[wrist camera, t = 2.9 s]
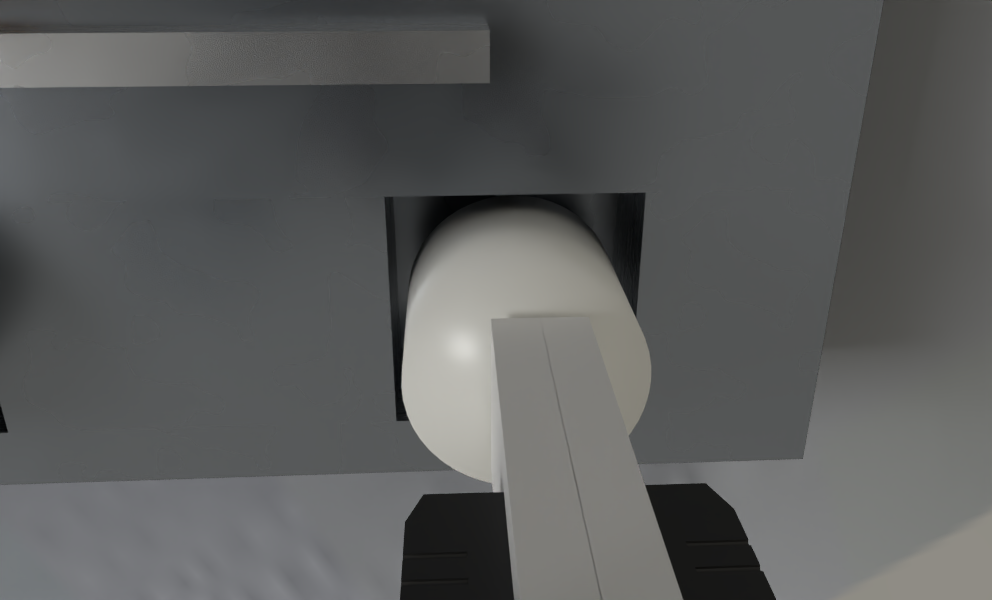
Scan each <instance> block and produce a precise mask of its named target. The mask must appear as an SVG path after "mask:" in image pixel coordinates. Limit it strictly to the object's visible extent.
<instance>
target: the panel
mask: <svg viewBox="0 0 992 600" xmlns="http://www.w3.org/2000/svg"><path fill="white" fill-rule="evenodd" d="M883 1H884V0H0V485H9V484H40V483H71V482H102V481H133V480H164V479H194V478H225V477H256V476H287V475H318V474H349V473H379V472H410V471H441V470H455V469H453V468H451V467H450V466H449V465H447V464H446V463H444V462H443V461H441V460H440V459H439V458H438V457H437V456H435V455H434V454H433V453H432V452H431V451H430V450H429V449H428V448H427V447H426V445H425V444H424V443H423V442H422V441H421V440H420V438H419V437H418V435H417V433H416V432H415V430H414V429H413V427H412V425H411V422H410V420H409V418H408V416H407V413H406V409H405V406H404V402H403V396H402V388H401V385H402V364H403V351H404V339H405V326H406V313H407V300H408V288H409V279H410V274H411V269H412V266H413V263H414V260H415V258H416V255H417V253H418V251H419V249H420V247H421V246H422V244H423V243H424V241H425V240H426V238H427V237H428V236H429V234H430V233H431V232H432V231H433V230H434V229H435V228H436V227H437V226H438V225H439V224H440V223H441V222H442V221H443V220H445V219H446V218H447V217H448V216H450V215H451V214H453V213H454V212H456V211H457V210H459V209H461V208H463V207H465V206H467V205H469V204H472V203H474V202H477V201H480V200H483V199H487V198H492V197H497V196H508V195H520V196H530V197H536V198H541V199H544V200H547V201H550V202H553V203H556V204H558V205H560V206H562V207H564V208H566V209H568V210H569V211H571V212H572V213H574V214H576V215H577V216H578V217H579V218H580V219H582V220H583V221H584V222H585V223H586V224H587V225H588V226H589V227H590V228H591V229H592V230H593V232H594V233H595V234H596V235H597V237H598V238H599V240H600V242H601V243H602V245H603V247H604V249H605V251H606V253H607V255H608V258H609V260H610V262H611V264H612V266H613V269H614V271H615V273H616V275H617V277H618V280H619V282H620V284H621V286H622V288H623V291H624V293H625V295H626V297H627V299H628V302H629V304H630V306H631V308H632V310H633V313H634V315H635V317H636V319H637V321H638V324H639V326H640V328H641V330H642V332H643V335H644V337H645V340H646V343H647V346H648V350H649V354H650V361H651V384H650V390H649V395H648V398H647V402H646V405H645V408H644V410H643V412H642V414H641V417H640V419H639V421H638V422H637V424H636V425H635V427H634V429H633V430H632V432H631V433H630V434H629V439H630V442H631V445H632V448H633V451H634V454H635V457H636V460H637V463H638V464H657V463H688V462H719V461H750V460H780V459H803V455H804V449H805V443H806V438H807V432H808V426H809V421H810V415H811V409H812V404H813V398H814V392H815V387H816V381H817V375H818V370H819V364H820V358H821V353H822V347H823V341H824V336H825V330H826V324H827V319H828V313H829V307H830V302H831V296H832V290H833V285H834V279H835V273H836V268H837V262H838V256H839V251H840V245H841V239H842V234H843V228H844V222H845V217H846V211H847V205H848V200H849V194H850V188H851V183H852V177H853V171H854V166H855V160H856V154H857V149H858V143H859V137H860V132H861V126H862V120H863V115H864V109H865V103H866V98H867V92H868V86H869V81H870V75H871V69H872V64H873V58H874V52H875V47H876V41H877V35H878V30H879V24H880V18H881V13H882V7H883Z"/></svg>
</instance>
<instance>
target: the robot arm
mask: <svg viewBox="0 0 992 600" xmlns="http://www.w3.org/2000/svg"><path fill="white" fill-rule="evenodd" d="M491 473H492V486H493V492H491V493H458V494H424V495H423V496H422V498H421V499H420V501H419V502H418V504H417V505H416V507H415V508H414V510H413V511H412V513H411V514H410V516H409V517H408V519H407V520H406V521H405V532H404V547H403V562H402V578H401V593H400V600H776V598H775V596H774V594H773V592H772V590H771V587H770V585H769V583H768V581H767V579H766V577H765V575H764V572H763V571H760V564H759V562H758V559H757V557H756V555H755V553H754V551H753V549H752V547H751V545H749V544H748V538H747V536H746V534H745V531H744V529H743V527H742V525H741V523H740V521H739V519H738V516H737V514H736V512H735V510H734V508H732V507H731V506H730V505H729V504H728V503H727V502H726V501H725V500H724V499H722V498H721V497H720V496H719V495H718V494H717V493H716V492H715V491H713V490H712V489H711V488H710V487H709V486H708V485H707V484H706V483H701V484H667V485H645V484H644V481H643V478H642V475H641V472H640V469H639V466H638V463H637V460H636V457H635V454H634V451H633V448H632V445H631V442H630V439H629V436H628V433H627V430H626V427H625V424H624V421H623V418H622V415H621V412H620V409H619V406H618V403H617V400H616V397H615V394H614V391H613V388H612V385H611V382H610V379H609V376H608V373H607V370H606V367H605V364H604V361H603V358H602V355H601V352H600V349H599V346H598V343H597V340H596V337H595V334H594V331H593V328H592V325H591V322H590V319H589V317H546V318H498V319H491Z"/></svg>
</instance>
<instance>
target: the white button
mask: <svg viewBox="0 0 992 600" xmlns="http://www.w3.org/2000/svg"><path fill="white" fill-rule="evenodd" d="M546 317H589V319H590V322H591V325H592V328H593V331H594V334H595V337H596V340H597V343H598V346H599V349H600V352H601V355H602V358H603V361H604V364H605V367H606V370H607V373H608V376H609V379H610V382H611V385H612V388H613V391H614V394H615V397H616V400H617V403H618V406H619V409H620V412H621V415H622V418H623V421H624V424H625V427H626V430H627V433H628V436H629V434H630V433H631V432H632V430H633V429H634V427H635V425H636V424H637V422H638V421H639V419H640V417H641V414H642V412H643V410H644V408H645V405H646V402H647V398H648V395H649V390H650V384H651V361H650V354H649V350H648V346H647V343H646V340H645V337H644V335H643V332H642V330H641V328H640V326H639V324H638V321H637V319H636V317H635V315H634V313H633V310H632V308H631V306H630V304H629V302H628V299H627V297H626V295H625V293H624V291H623V288H622V286H621V284H620V282H619V280H618V277H617V275H616V273H615V271H614V269H613V266H612V264H611V262H610V260H609V258H608V255H607V253H606V251H605V249H604V247H603V245H602V243H601V242H600V240H599V238H598V237H597V235H596V234H595V233H594V232H593V230H592V229H591V228H590V227H589V226H588V225H587V224H586V223H585V222H584V221H583V220H582V219H580V218H579V217H578V216H577V215H576V214H574V213H572V212H571V211H569V210H568V209H566V208H564V207H562V206H560V205H558V204H556V203H553V202H550V201H547V200H544V199H541V198H536V197H530V196H520V195H508V196H497V197H492V198H487V199H483V200H480V201H477V202H474V203H472V204H469V205H467V206H465V207H463V208H461V209H459V210H457V211H456V212H454V213H453V214H451V215H450V216H448V217H447V218H446V219H445V220H443V221H442V222H441V223H440V224H439V225H438V226H437V227H436V228H435V229H434V230H433V231H432V232H431V233H430V234H429V236H428V237H427V238H426V240H425V241H424V243H423V244H422V246H421V247H420V249H419V251H418V253H417V255H416V258H415V260H414V263H413V266H412V269H411V274H410V279H409V288H408V300H407V313H406V326H405V339H404V351H403V364H402V385H401V388H402V396H403V402H404V406H405V409H406V413H407V416H408V418H409V420H410V422H411V425H412V427H413V429H414V430H415V432H416V433H417V435H418V437H419V438H420V440H421V441H422V442H423V443H424V444H425V445H426V447H427V448H428V449H429V450H430V451H431V452H432V453H433V454H434V455H435V456H437V457H438V458H439V459H440V460H441V461H443V462H444V463H446V464H447V465H449V466H450V467H451V468H453V469H455V470H457V471H459V472H461V473H463V474H465V475H467V476H470V477H472V478H475V479H478V480H481V481H485V482H489V483H492V473H491V319H498V318H546Z"/></svg>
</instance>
